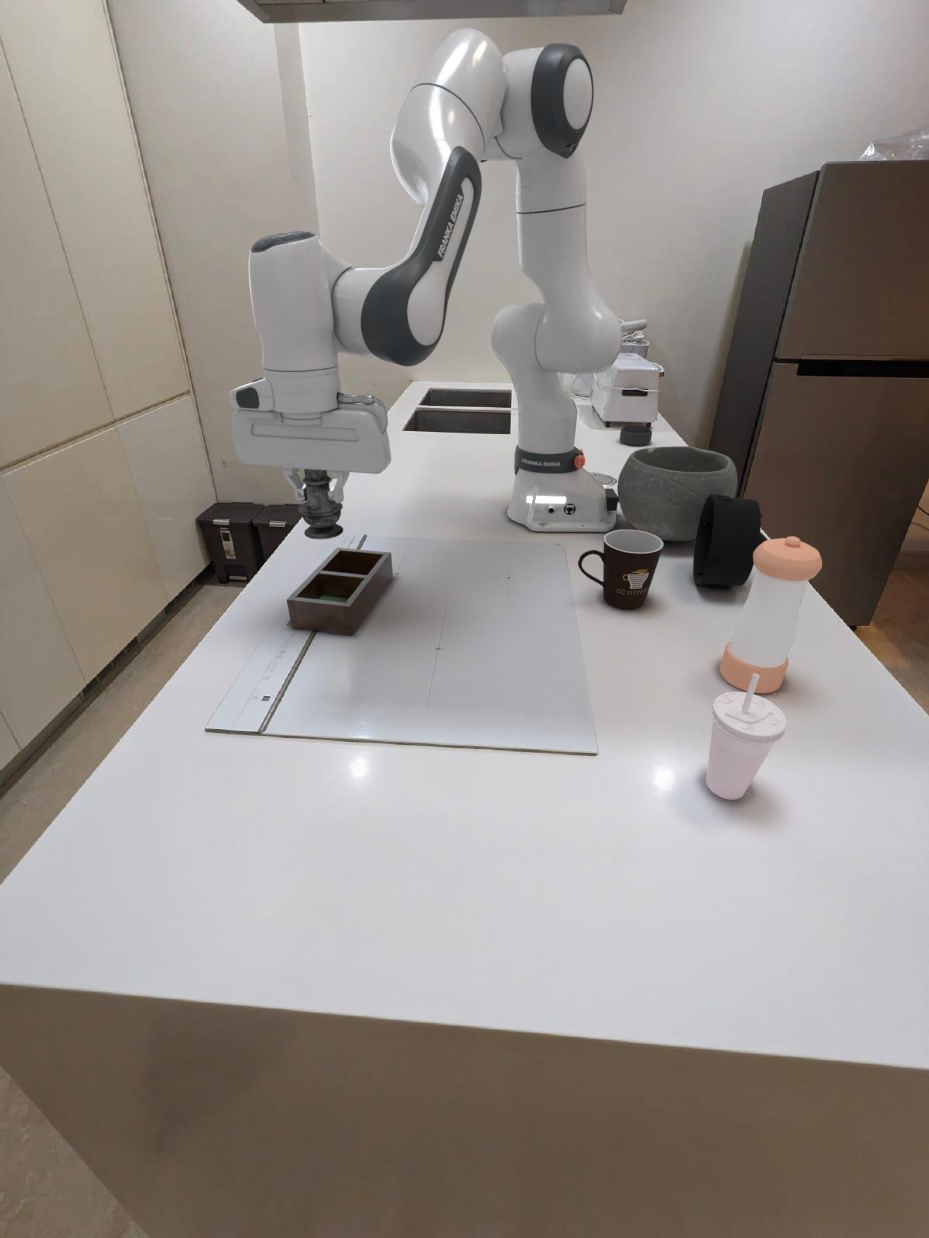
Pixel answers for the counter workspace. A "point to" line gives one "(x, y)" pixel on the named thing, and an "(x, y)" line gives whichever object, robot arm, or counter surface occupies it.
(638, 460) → the bowl
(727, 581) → the black cylinder
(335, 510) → the salt shaker
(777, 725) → the smoothie
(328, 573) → the divided wooden box
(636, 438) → the smart speaker
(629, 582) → the coffee mug
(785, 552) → the pepper shaker
